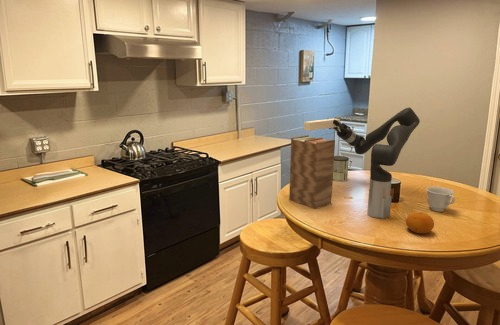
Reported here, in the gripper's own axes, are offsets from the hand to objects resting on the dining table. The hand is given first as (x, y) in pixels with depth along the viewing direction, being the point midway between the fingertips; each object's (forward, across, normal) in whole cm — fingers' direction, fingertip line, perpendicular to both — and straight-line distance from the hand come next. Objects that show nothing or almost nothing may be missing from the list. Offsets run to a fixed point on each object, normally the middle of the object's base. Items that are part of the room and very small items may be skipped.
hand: (330, 120), depth 190 cm
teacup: (-38, -52, -24) cm, 69 cm away
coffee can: (-43, +12, -22) cm, 50 cm away
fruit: (-11, -57, -40) cm, 71 cm away
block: (+4, 0, -6) cm, 7 cm away
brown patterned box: (-4, -4, -44) cm, 44 cm away
